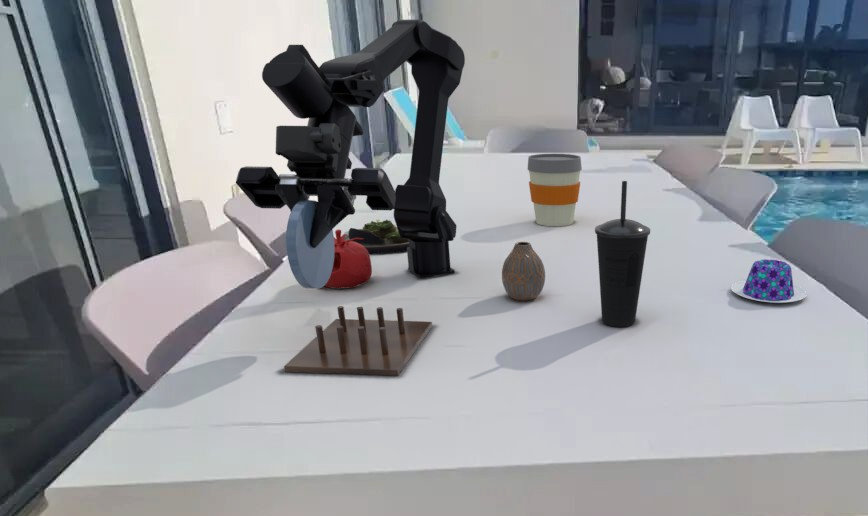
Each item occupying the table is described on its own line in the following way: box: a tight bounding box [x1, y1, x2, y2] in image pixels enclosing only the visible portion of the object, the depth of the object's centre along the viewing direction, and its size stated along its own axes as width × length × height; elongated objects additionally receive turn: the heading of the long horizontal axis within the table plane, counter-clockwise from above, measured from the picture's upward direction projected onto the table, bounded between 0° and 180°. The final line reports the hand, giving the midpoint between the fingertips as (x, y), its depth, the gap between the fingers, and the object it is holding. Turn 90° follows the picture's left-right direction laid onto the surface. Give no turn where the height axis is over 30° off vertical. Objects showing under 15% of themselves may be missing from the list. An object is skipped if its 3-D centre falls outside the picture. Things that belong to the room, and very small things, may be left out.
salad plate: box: [342, 219, 409, 255], centre depth 134 cm, size 19×18×5 cm
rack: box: [283, 305, 433, 376], centre depth 83 cm, size 16×14×4 cm
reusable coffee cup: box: [527, 153, 582, 227], centre depth 150 cm, size 13×12×15 cm
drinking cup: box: [594, 180, 651, 328], centre depth 89 cm, size 8×8×20 cm
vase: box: [501, 241, 546, 302], centre depth 101 cm, size 7×7×9 cm
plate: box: [285, 199, 335, 290], centre depth 81 cm, size 11×1×11 cm, turn 177°
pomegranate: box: [324, 229, 373, 289], centre depth 107 cm, size 10×10×9 cm
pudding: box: [730, 259, 808, 304], centre depth 104 cm, size 12×12×5 cm
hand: (306, 246), depth 79 cm, fingers closed on plate, 1 cm apart
